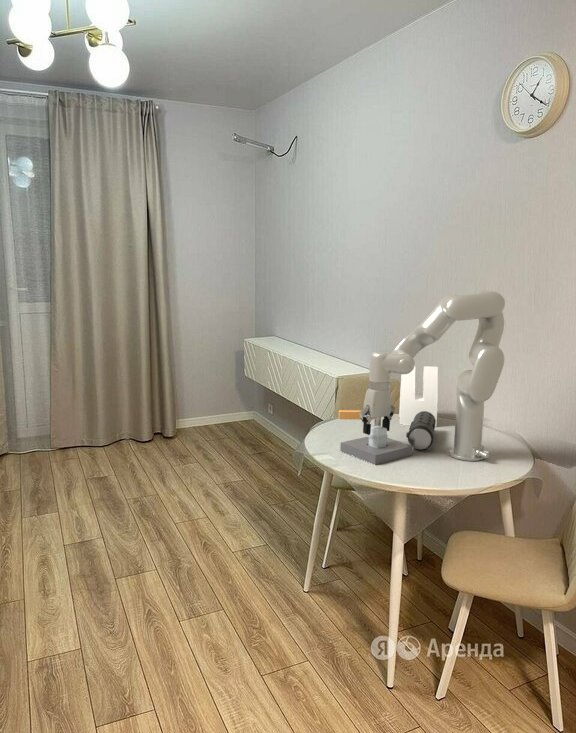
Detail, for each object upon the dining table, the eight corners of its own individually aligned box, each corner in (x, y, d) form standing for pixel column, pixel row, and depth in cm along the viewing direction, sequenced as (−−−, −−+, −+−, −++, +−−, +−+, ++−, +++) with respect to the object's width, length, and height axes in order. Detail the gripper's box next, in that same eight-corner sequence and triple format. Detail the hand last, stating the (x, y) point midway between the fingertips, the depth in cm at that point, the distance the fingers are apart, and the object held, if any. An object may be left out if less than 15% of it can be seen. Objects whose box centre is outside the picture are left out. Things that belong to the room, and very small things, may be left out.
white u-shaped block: (436, 427, 248) (439, 370, 244) (400, 425, 250) (402, 369, 246) (432, 416, 266) (435, 363, 262) (399, 414, 269) (401, 362, 265)
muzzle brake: (412, 433, 241) (437, 431, 238) (406, 452, 215) (434, 450, 212) (409, 411, 240) (434, 409, 237) (403, 428, 214) (431, 425, 211)
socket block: (412, 455, 209) (412, 445, 209) (375, 464, 198) (375, 455, 198) (376, 443, 224) (377, 434, 223) (340, 451, 212) (340, 442, 212)
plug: (386, 454, 209) (387, 428, 208) (377, 457, 206) (378, 430, 205) (376, 451, 213) (377, 425, 212) (367, 453, 210) (368, 427, 209)
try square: (379, 434, 221) (380, 410, 220) (380, 436, 219) (381, 411, 218) (338, 434, 221) (338, 410, 219) (338, 436, 218) (339, 411, 217)
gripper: (388, 382, 214) (385, 426, 217) (354, 386, 203) (351, 432, 206) (403, 385, 208) (400, 431, 211) (369, 390, 198) (366, 438, 200)
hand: (376, 432), depth 208 cm, fingers open, 9 cm apart
